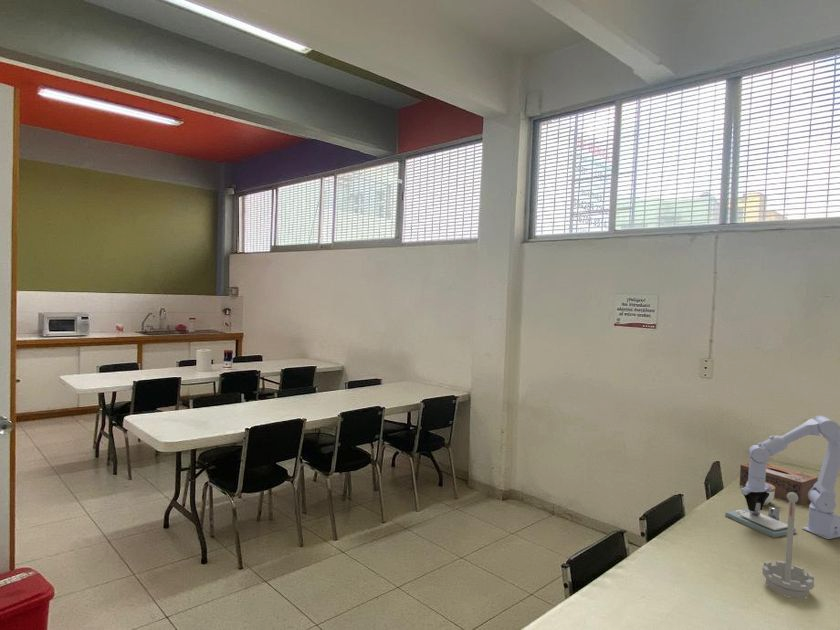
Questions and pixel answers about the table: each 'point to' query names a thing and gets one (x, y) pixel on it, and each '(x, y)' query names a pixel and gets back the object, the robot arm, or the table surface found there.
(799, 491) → the tissue box cover
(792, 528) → the flag stand
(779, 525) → the scale
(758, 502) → the cylinder
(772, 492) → the lidded jar
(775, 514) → the cylinder
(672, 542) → the table surface
